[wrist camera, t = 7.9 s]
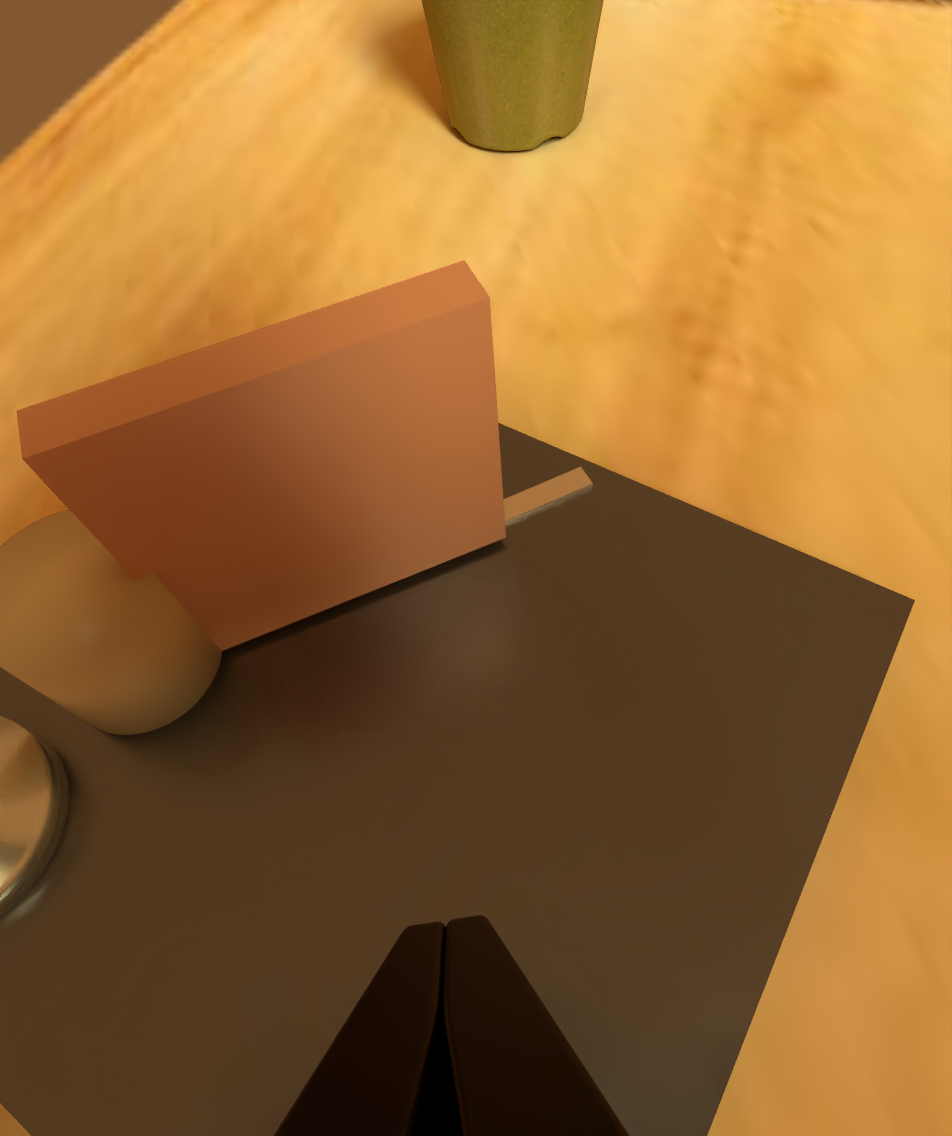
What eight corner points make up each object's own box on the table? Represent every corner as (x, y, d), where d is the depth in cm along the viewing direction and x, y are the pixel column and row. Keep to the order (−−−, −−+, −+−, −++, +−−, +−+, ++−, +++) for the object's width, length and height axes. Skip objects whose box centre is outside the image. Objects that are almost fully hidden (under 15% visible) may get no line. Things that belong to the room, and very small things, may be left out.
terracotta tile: (79, 760, 18) (-204, 605, 11) (60, 626, 20) (-189, 425, 13) (527, 577, 20) (521, 344, 13) (469, 470, 22) (437, 221, 15)
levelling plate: (898, 618, 20) (935, 577, 18) (512, 1596, 12) (507, 1705, 10) (319, 365, 26) (303, 316, 24) (-183, 877, 18) (-264, 862, 16)
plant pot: (444, 61, 37) (420, -178, 30) (633, 69, 35) (659, -182, 28) (388, 168, 32) (344, -82, 25) (602, 184, 31) (623, -80, 23)
